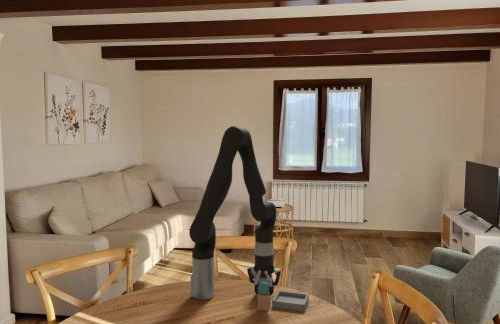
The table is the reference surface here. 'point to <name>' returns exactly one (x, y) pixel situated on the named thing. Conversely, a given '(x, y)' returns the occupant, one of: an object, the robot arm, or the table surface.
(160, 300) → the table surface
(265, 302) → the pinkish brown block
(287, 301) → the tray
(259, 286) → the ball
